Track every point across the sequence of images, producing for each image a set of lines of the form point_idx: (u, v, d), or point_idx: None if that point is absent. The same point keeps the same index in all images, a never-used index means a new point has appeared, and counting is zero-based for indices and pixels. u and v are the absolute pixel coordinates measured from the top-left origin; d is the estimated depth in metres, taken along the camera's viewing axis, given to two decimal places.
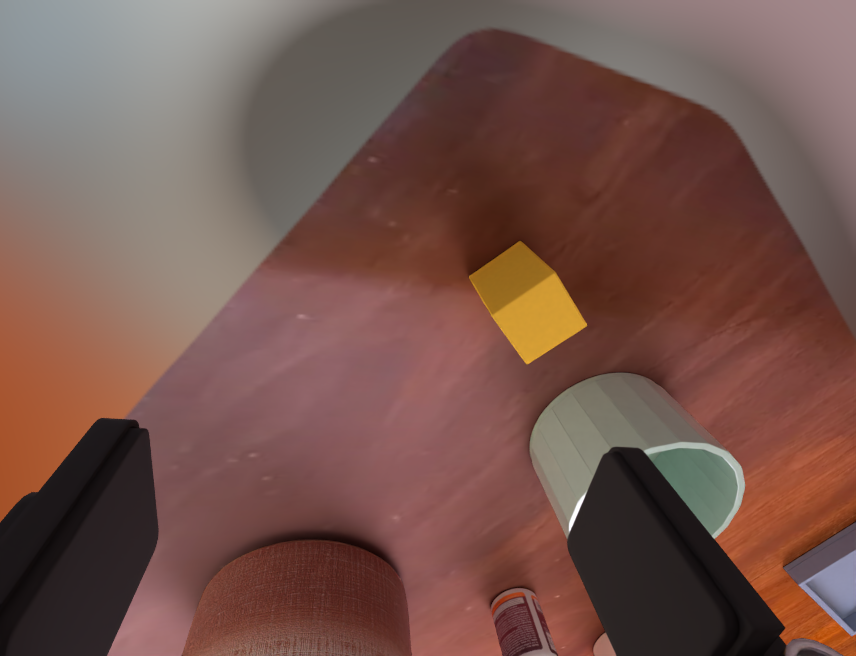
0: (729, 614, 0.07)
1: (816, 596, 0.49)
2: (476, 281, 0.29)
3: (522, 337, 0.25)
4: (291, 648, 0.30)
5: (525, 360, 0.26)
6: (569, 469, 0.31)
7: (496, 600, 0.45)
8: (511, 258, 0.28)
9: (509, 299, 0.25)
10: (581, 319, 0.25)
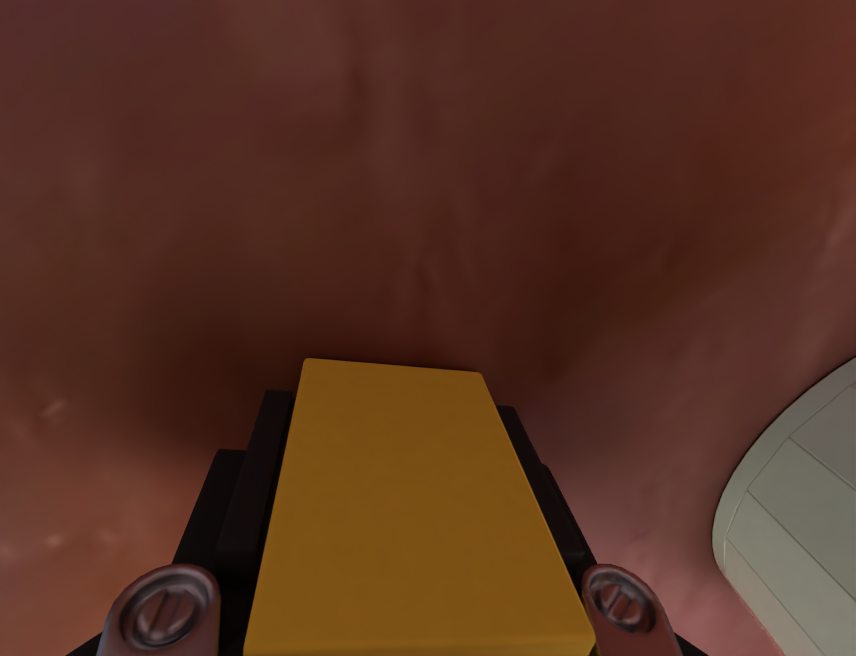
0: None
1: None
2: None
3: None
4: None
5: None
6: None
7: None
8: None
9: None
10: (549, 648, 0.05)
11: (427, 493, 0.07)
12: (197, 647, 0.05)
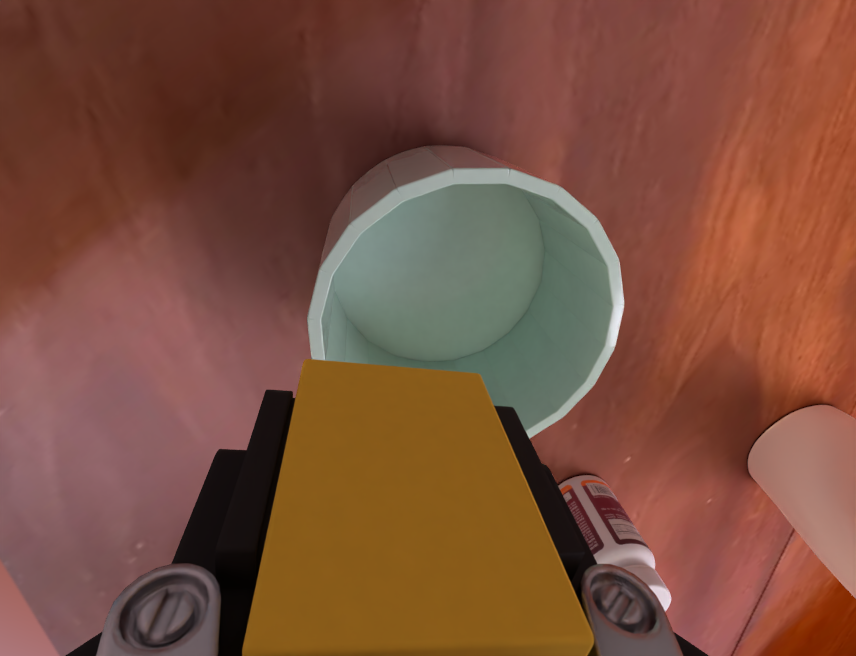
0: None
1: None
2: None
3: None
4: None
5: None
6: None
7: None
8: None
9: None
10: (548, 650, 0.05)
11: (426, 495, 0.07)
12: (198, 647, 0.05)
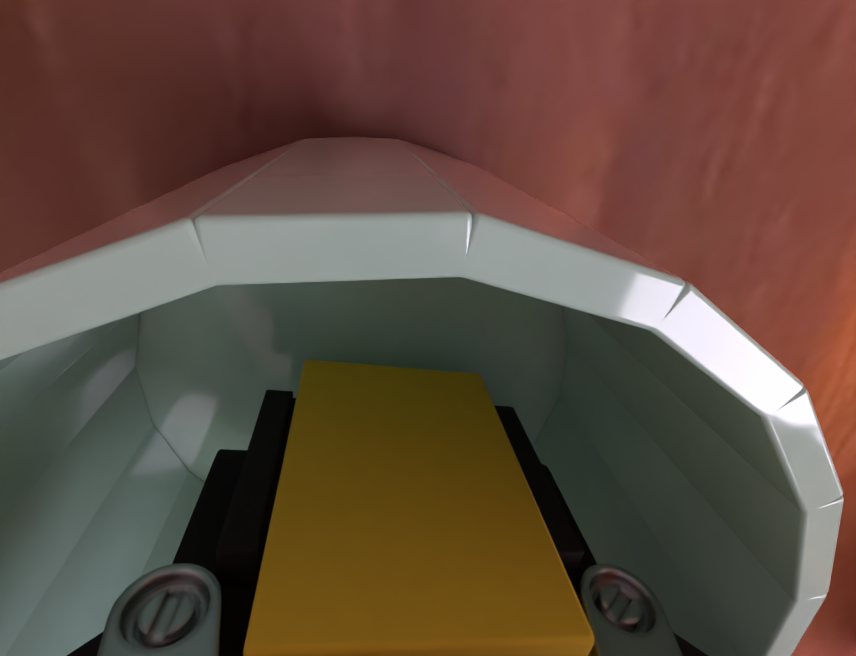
0: None
1: None
2: None
3: None
4: None
5: None
6: None
7: None
8: None
9: None
10: (548, 650, 0.05)
11: (426, 495, 0.07)
12: (198, 646, 0.05)
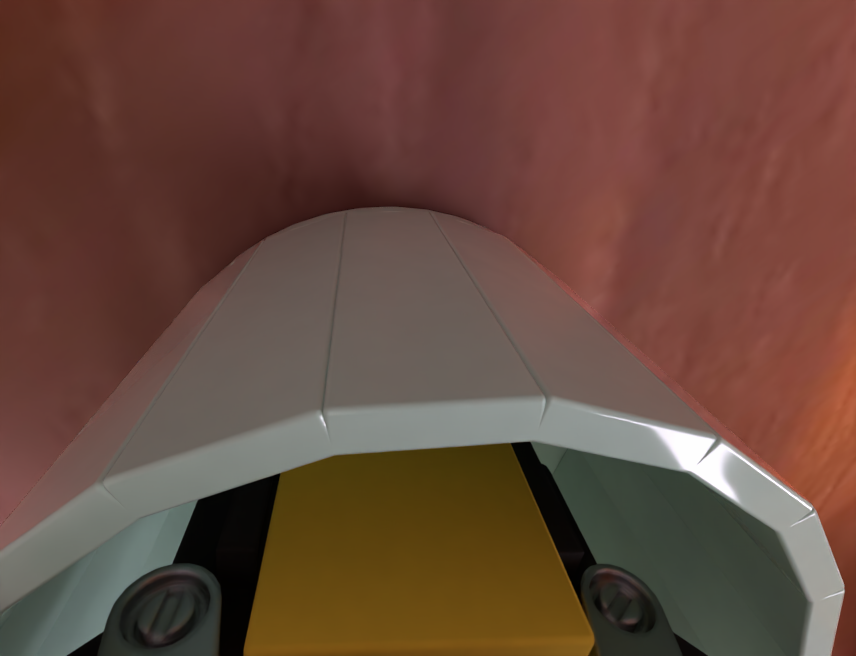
0: None
1: None
2: None
3: None
4: None
5: None
6: None
7: None
8: None
9: None
10: (548, 649, 0.05)
11: (426, 495, 0.07)
12: (199, 647, 0.05)
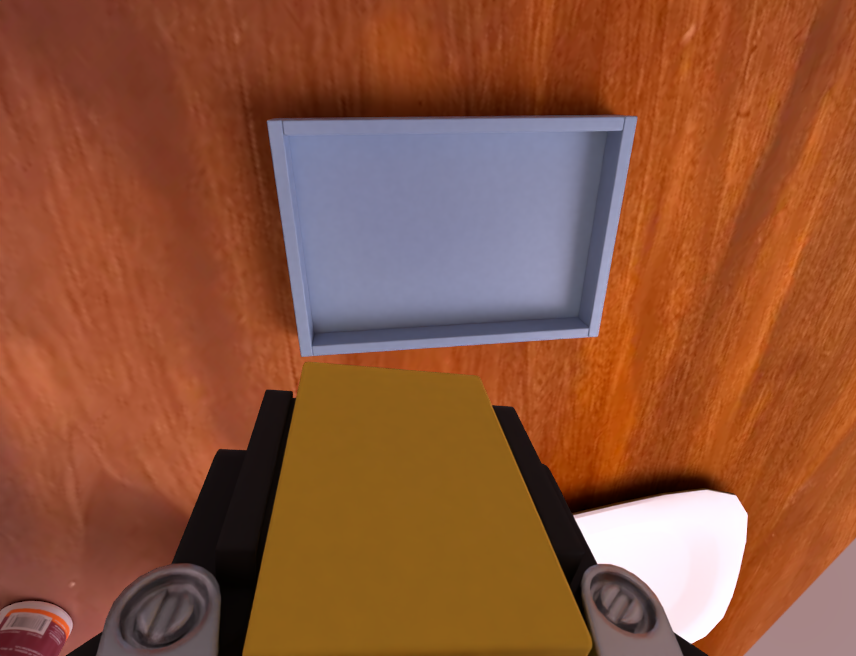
0: None
1: (377, 344, 0.24)
2: None
3: None
4: None
5: None
6: None
7: None
8: None
9: None
10: (546, 653, 0.05)
11: (425, 498, 0.07)
12: (197, 646, 0.05)
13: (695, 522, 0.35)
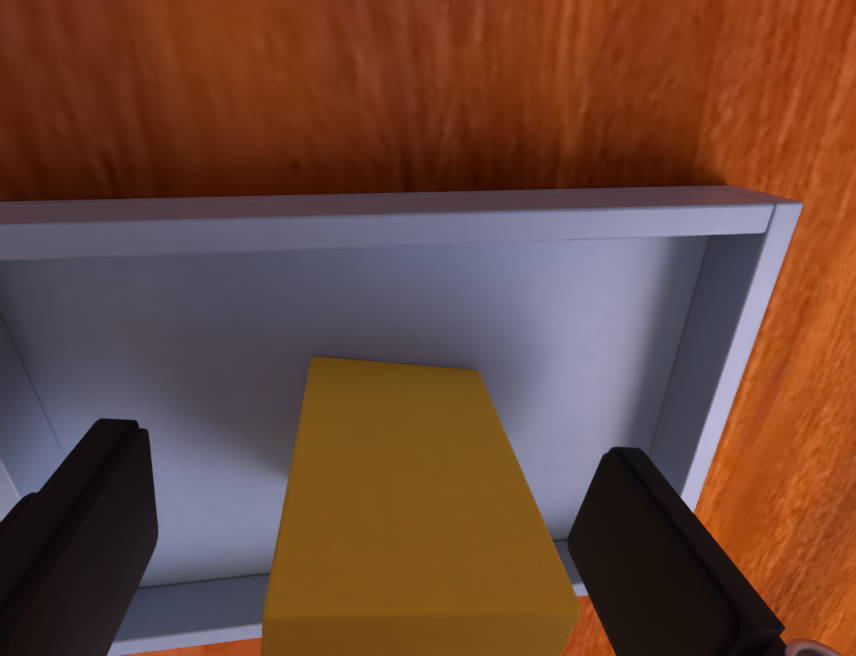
0: (729, 614, 0.07)
1: (237, 630, 0.12)
2: None
3: None
4: None
5: None
6: None
7: None
8: None
9: None
10: (538, 618, 0.06)
11: (428, 481, 0.08)
12: None
13: None
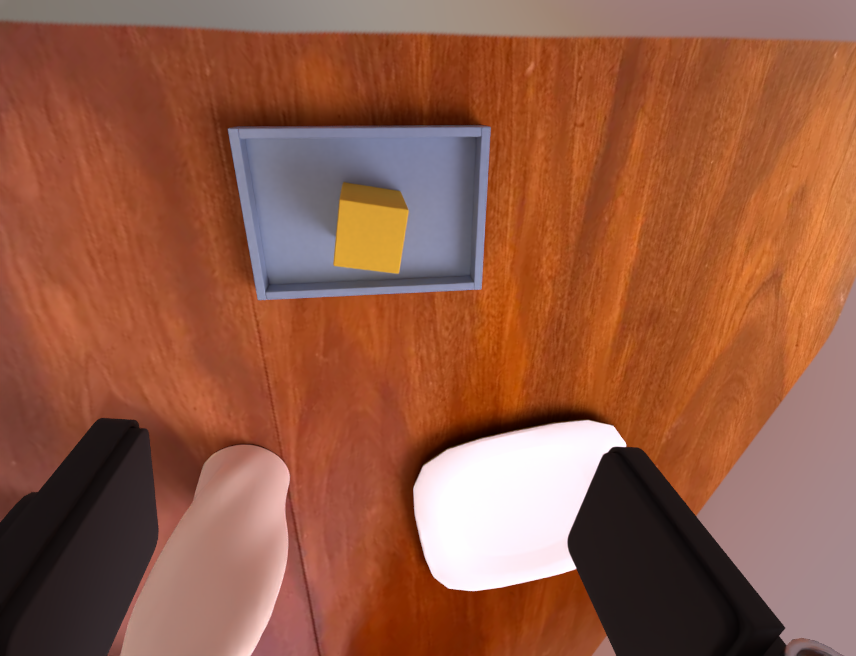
0: (729, 614, 0.07)
1: (314, 291, 0.33)
2: None
3: (371, 259, 0.28)
4: None
5: (393, 272, 0.28)
6: None
7: None
8: None
9: (335, 244, 0.28)
10: (398, 210, 0.27)
11: (377, 197, 0.28)
12: None
13: (582, 447, 0.44)
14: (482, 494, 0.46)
